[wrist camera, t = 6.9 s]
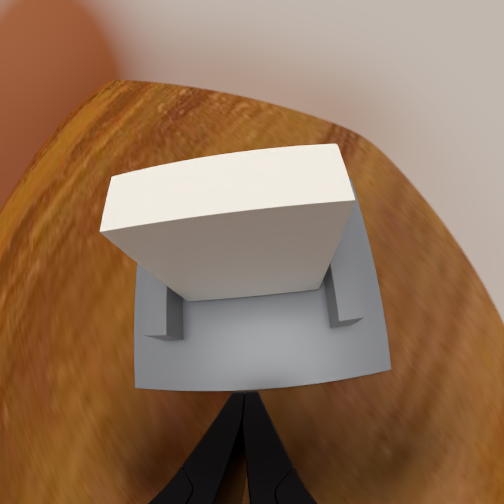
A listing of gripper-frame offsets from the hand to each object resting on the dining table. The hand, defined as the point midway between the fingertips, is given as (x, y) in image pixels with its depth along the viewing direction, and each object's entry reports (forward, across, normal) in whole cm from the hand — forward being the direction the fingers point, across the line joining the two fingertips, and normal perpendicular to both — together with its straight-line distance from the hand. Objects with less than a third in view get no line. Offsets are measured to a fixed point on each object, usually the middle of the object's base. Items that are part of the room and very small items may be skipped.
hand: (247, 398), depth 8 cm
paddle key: (+7, 0, -1) cm, 7 cm away
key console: (+9, 0, 0) cm, 9 cm away
